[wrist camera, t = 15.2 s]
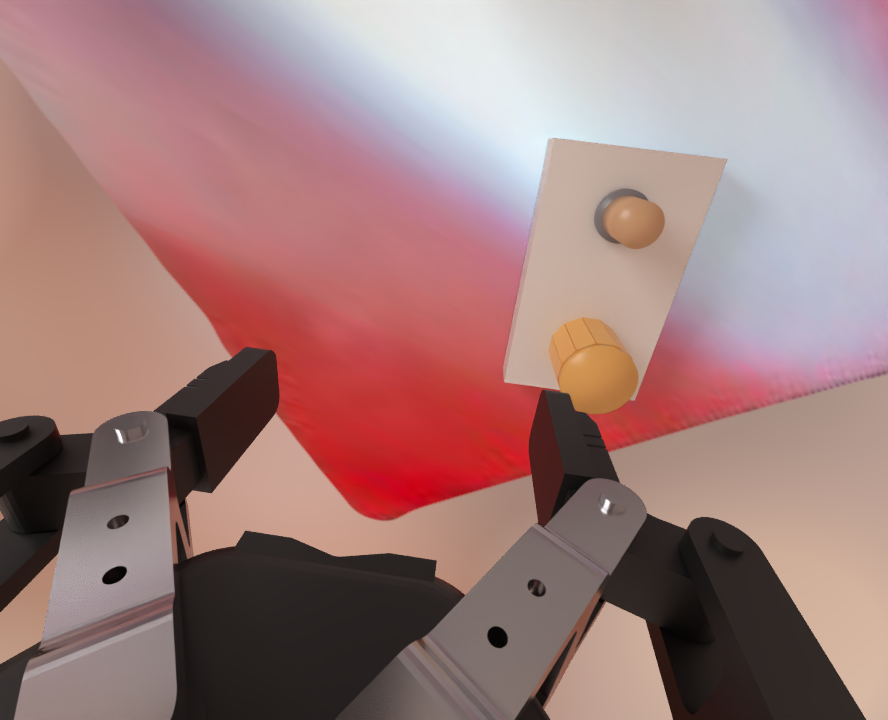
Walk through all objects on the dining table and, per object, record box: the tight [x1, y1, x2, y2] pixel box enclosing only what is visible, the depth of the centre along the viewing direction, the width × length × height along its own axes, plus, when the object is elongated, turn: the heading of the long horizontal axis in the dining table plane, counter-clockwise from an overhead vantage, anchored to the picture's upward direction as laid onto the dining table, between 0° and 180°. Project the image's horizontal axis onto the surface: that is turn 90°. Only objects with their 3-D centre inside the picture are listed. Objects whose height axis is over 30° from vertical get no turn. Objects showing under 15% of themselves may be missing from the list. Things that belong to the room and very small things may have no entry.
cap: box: [548, 317, 638, 414], centre depth 33 cm, size 6×6×6 cm
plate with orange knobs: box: [503, 138, 727, 401], centre depth 33 cm, size 20×12×8 cm, turn 174°
